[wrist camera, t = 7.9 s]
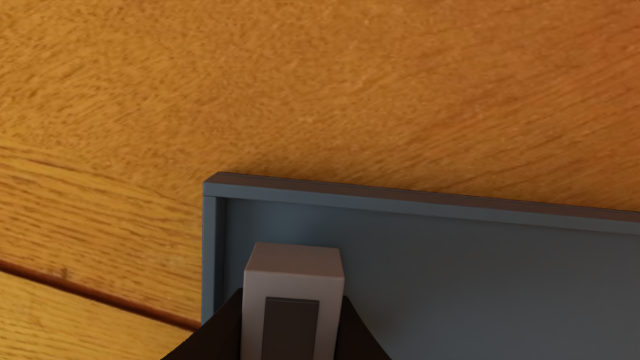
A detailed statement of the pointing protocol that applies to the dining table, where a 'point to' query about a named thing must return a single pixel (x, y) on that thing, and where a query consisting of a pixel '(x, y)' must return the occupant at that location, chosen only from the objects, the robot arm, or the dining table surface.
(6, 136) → the dining table surface
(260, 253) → the grey block
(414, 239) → the tray
